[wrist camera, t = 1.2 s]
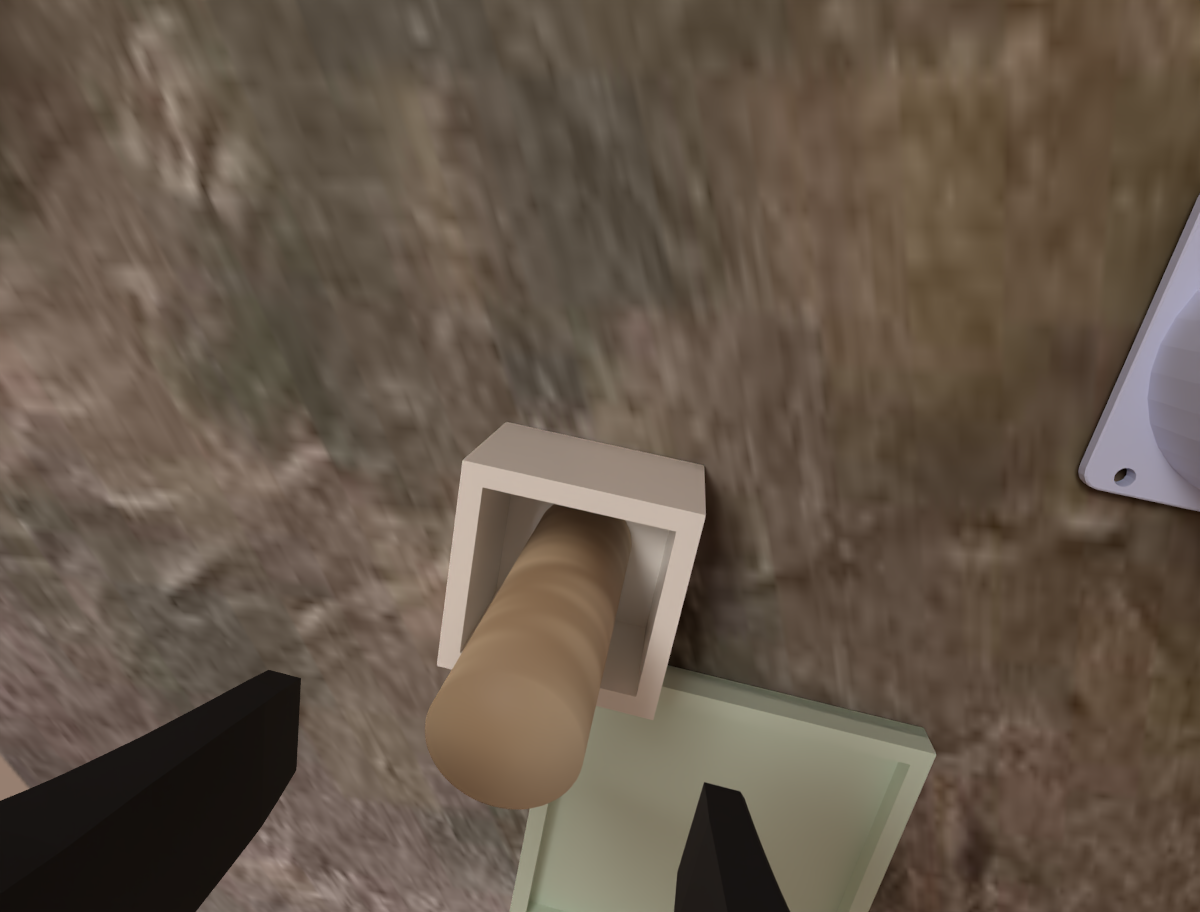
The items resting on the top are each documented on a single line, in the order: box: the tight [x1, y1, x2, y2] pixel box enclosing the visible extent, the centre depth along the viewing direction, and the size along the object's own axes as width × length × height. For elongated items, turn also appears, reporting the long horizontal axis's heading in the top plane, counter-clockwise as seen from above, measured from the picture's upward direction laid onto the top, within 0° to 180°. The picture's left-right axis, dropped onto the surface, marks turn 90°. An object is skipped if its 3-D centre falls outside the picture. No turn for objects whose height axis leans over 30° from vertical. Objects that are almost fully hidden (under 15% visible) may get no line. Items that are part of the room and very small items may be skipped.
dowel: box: [425, 504, 631, 809], centre depth 16 cm, size 3×3×9 cm
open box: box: [437, 422, 706, 720], centre depth 19 cm, size 6×6×4 cm
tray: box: [510, 665, 936, 912], centre depth 23 cm, size 12×12×1 cm
